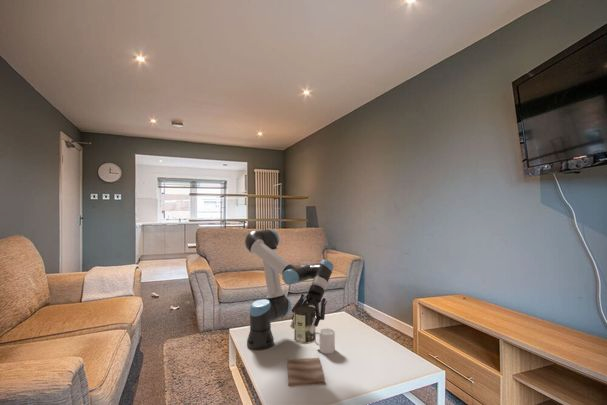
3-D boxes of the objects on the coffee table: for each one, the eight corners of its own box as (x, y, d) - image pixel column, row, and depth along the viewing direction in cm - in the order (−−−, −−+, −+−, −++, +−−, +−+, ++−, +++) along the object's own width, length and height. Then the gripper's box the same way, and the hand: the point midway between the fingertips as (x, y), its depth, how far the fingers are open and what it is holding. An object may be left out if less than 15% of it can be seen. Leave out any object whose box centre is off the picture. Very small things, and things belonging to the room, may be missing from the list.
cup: (331, 355, 152) (331, 335, 153) (310, 350, 158) (310, 331, 158) (337, 348, 160) (336, 329, 160) (316, 344, 165) (316, 326, 165)
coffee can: (315, 334, 142) (315, 305, 143) (316, 344, 132) (315, 312, 132) (294, 334, 143) (294, 305, 143) (293, 344, 132) (293, 313, 133)
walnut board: (287, 361, 146) (287, 359, 146) (319, 360, 148) (319, 357, 148) (288, 385, 126) (288, 382, 127) (324, 383, 128) (324, 380, 128)
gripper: (340, 295, 145) (325, 339, 131) (302, 288, 157) (285, 328, 143) (335, 286, 140) (319, 331, 127) (296, 280, 153) (278, 321, 139)
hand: (301, 330), depth 135 cm, fingers closed on coffee can, 10 cm apart
